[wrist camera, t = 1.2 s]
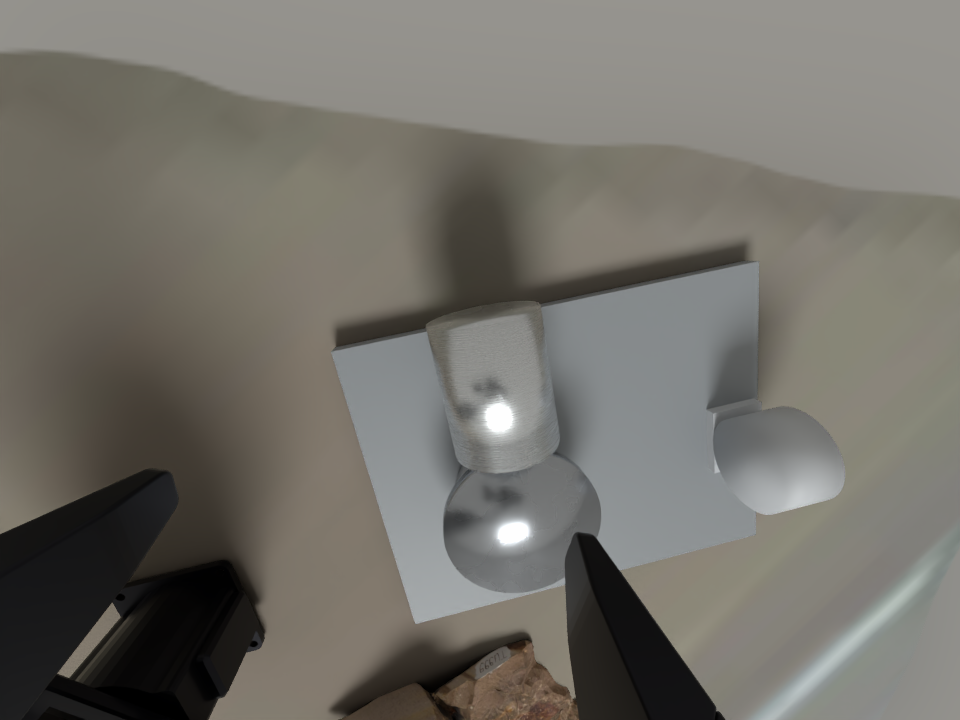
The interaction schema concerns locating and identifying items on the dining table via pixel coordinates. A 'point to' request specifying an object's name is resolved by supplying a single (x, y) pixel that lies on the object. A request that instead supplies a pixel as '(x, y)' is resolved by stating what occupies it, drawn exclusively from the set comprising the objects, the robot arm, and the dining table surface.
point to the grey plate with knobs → (604, 428)
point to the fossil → (482, 693)
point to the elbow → (507, 450)
